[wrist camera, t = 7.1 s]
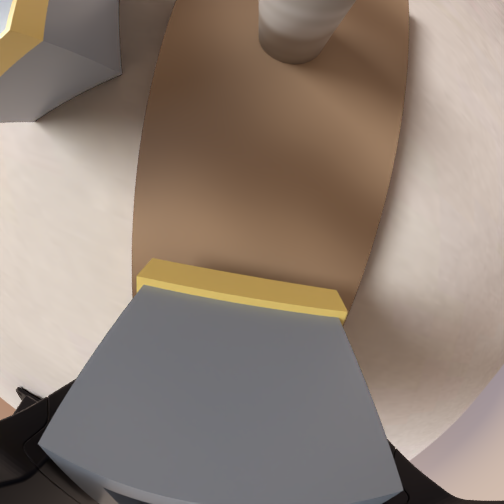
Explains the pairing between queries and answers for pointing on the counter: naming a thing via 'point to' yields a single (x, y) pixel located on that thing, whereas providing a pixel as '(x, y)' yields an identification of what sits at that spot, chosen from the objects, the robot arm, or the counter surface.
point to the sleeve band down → (223, 399)
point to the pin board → (272, 138)
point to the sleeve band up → (54, 53)
